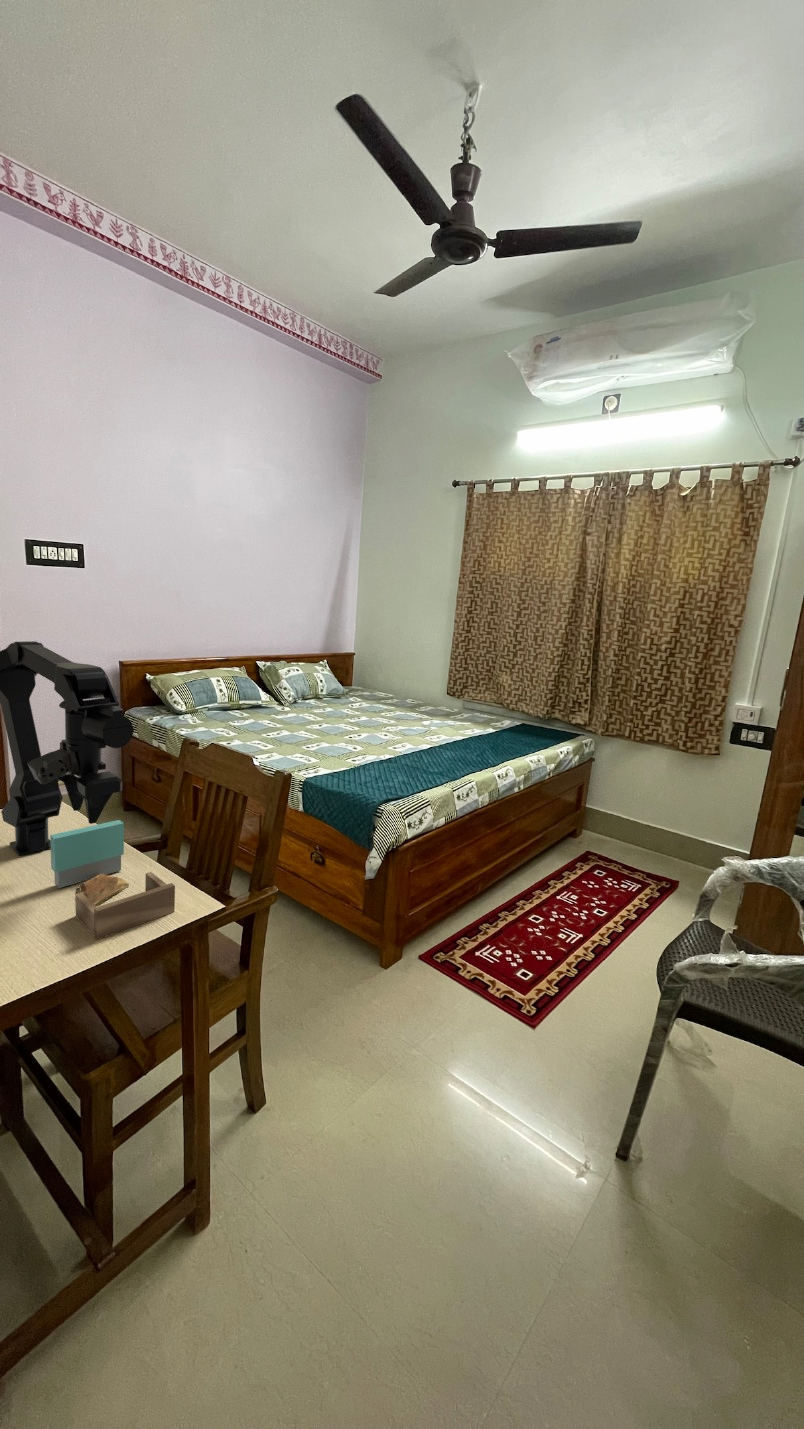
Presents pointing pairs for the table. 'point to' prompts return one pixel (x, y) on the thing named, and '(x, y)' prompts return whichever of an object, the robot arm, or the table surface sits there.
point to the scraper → (87, 852)
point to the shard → (102, 888)
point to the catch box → (127, 908)
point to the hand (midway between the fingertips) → (84, 816)
